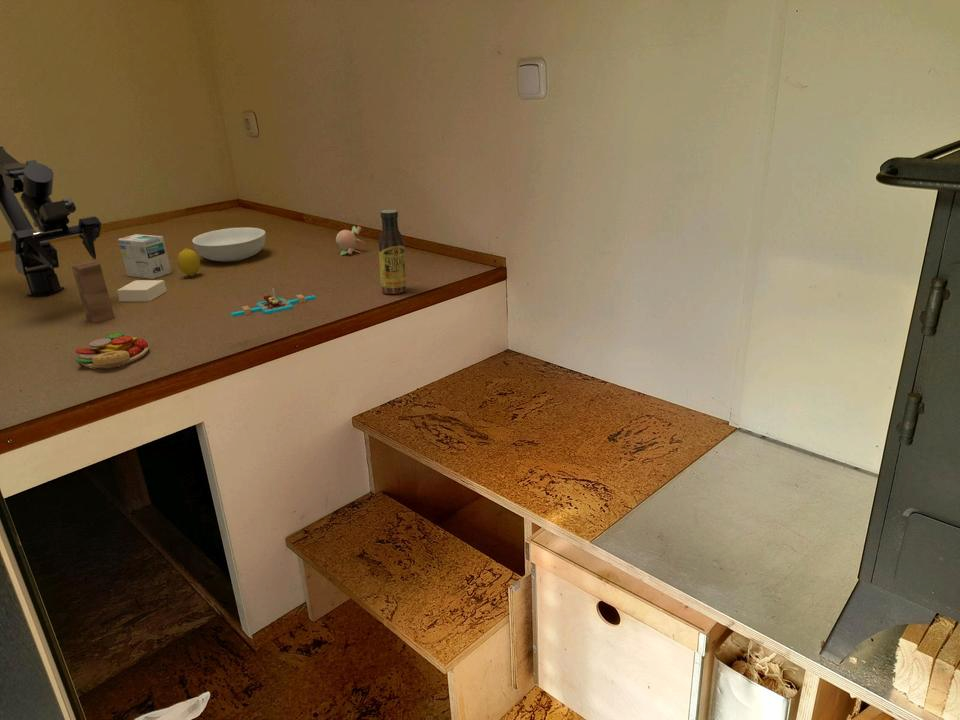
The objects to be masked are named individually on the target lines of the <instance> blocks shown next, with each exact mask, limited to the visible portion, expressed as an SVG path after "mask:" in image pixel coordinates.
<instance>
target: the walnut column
mask: <svg viewBox="0 0 960 720" xmlns="http://www.w3.org/2000/svg"><path fill="white" fill-rule="evenodd" d="M71 270H72V273H73V277H74V280H75V284H76V287H77V290H78V293H79V296H80V299H81V303H82V308H83V310H84V314H85V317H86V320H88V321H89V322H91V323H93V322H94V324H98V323H101V322H105V321H107V320H111V319H114V318H116V317H115V314H114V309H113V306H112V303H111V299H110V295H109V292H108V287H107V285H106V280H105V277H104V273H103V269H102V267H101V263H98V262H96V261H92V260H89V261H86V262H82V263H78V264H73V265H71ZM97 322H98V323H97Z"/></svg>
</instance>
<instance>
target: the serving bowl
mask: <svg viewBox="0 0 960 720" xmlns="http://www.w3.org/2000/svg"><path fill="white" fill-rule="evenodd" d="M266 239H267V236H266V231H265V230H264V229H263V228H262V229H261V228H259V227H229V228H222V229H217V230H211V231H208V232H204V233H201V234H198V235H197V236H195V237H193V238H192V241H191V242H192V245H193V247H194V249H195V251H196V252H197V253H198V254H199V255H200V256H201V257H203V258H205V259H207V260H209V261H210V260H211V261H216V262H225V263H229V262H231V263H232V262H238V261H243V260H245V259H248V258H250V257H253V256H254V255H256V254H258V253H259V252H260V251H261V250H262V249H263V247H264V246H265V244H266Z"/></svg>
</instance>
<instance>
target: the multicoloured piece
mask: <svg viewBox="0 0 960 720" xmlns="http://www.w3.org/2000/svg"><path fill="white" fill-rule="evenodd" d="M271 291H272V296H271V295H270V294H269V295H265V296H263V299H264V300H265V301H260V302H257V303H256V307H253V308H251V307H249V305H244V306H241V310H239V311H234V312H231V313H230V315H231V317H233V318H235V317H239V316H242V315H245V316H248V315H252V313H257V312H263V313H264V314H265V315H269V314H273V313H278V312H282V311H287V310H291V309H293V308H294V307H293V305H292V304H298V303H299V304H302V303H303V304H304V303H306V302H307V301H312V300H315V299H317V298H316V296H315V295H309V296H304V295H303V294H295V299H291V300H287V299H285V298H283V297H280V298H276V294H275V289H274V288H271Z"/></svg>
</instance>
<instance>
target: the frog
mask: <svg viewBox="0 0 960 720" xmlns="http://www.w3.org/2000/svg"><path fill="white" fill-rule="evenodd" d="M361 229H362V227H361V226H359V225H358V226H357V227H356V226H355V225H353V226H352V228H351V230H349V229H342V230H340V231H339V232H338V233H337V234H336V237H335V242H336V245H337V246H338V247H339V248H341V249H342V250H341V252H340V254H339V255H340V256H344V255H345V254H349V255H352V254H353V252H355V253H358V254H362V251H359V250H356V249H355V246H356V242H359V243H360V244H361V243H362V244H363V245H366V243H365V242H364V241H363V240H362V239H359V238H357V237H356V235H358V236H359V235H360V232H361ZM355 234H356V235H355Z"/></svg>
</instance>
